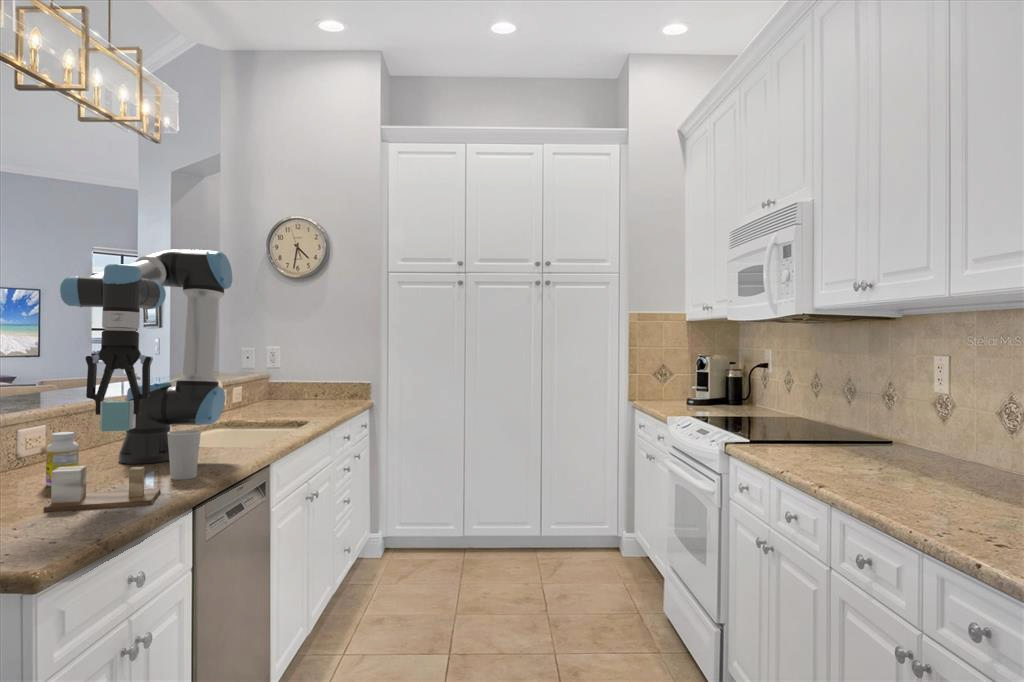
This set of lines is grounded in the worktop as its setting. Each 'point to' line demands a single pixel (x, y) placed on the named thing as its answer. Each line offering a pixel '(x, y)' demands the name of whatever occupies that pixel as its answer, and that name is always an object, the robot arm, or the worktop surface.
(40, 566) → the worktop surface
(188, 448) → the cup
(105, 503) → the peg board
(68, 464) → the supplement bottle
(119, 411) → the turquoise rounded cube
